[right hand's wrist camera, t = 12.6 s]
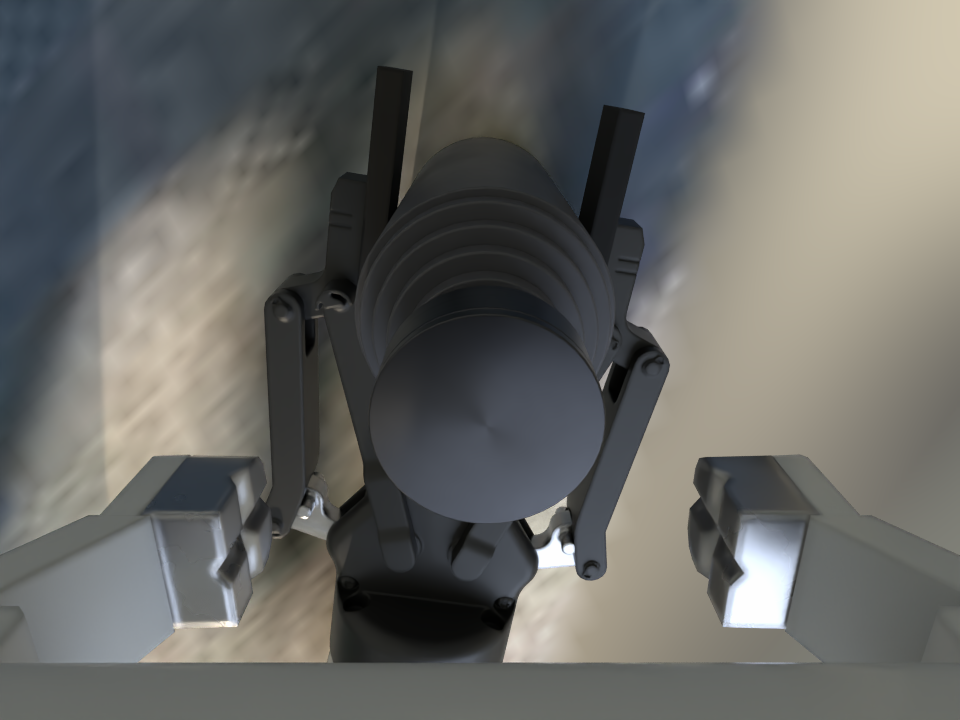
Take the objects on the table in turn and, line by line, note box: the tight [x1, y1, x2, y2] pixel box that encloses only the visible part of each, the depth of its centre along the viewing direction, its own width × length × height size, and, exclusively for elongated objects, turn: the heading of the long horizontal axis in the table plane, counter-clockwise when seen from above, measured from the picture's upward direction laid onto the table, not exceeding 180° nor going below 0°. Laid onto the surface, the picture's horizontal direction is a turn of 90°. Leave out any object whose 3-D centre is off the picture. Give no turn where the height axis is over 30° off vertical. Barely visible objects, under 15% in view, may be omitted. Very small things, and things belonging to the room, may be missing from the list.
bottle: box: [355, 137, 615, 379], centre depth 20 cm, size 6×6×18 cm
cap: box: [368, 286, 606, 524], centre depth 12 cm, size 4×4×2 cm
